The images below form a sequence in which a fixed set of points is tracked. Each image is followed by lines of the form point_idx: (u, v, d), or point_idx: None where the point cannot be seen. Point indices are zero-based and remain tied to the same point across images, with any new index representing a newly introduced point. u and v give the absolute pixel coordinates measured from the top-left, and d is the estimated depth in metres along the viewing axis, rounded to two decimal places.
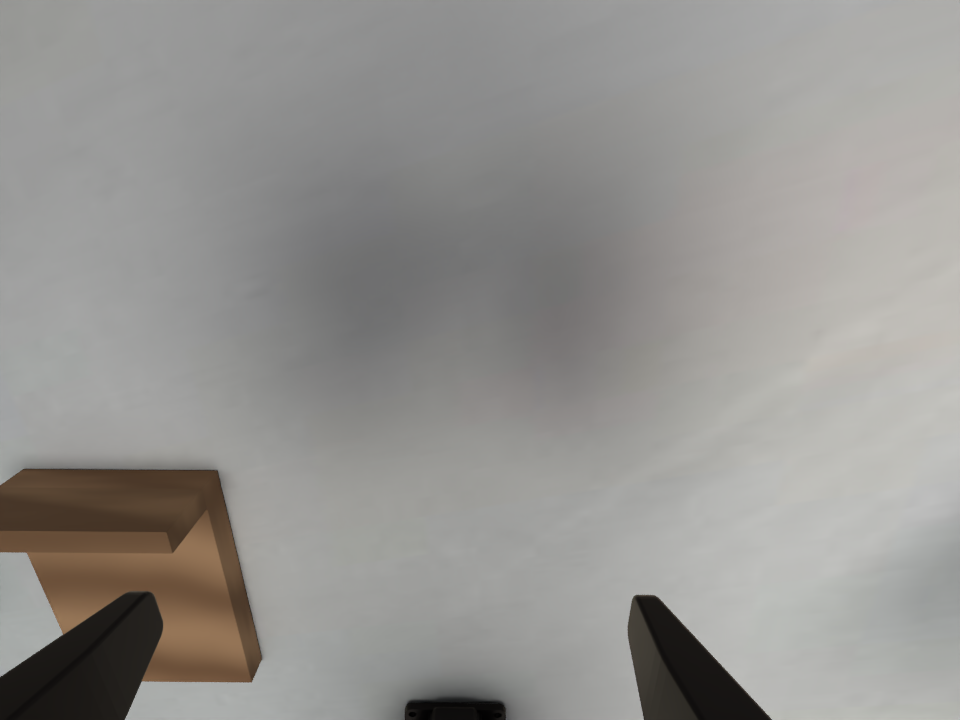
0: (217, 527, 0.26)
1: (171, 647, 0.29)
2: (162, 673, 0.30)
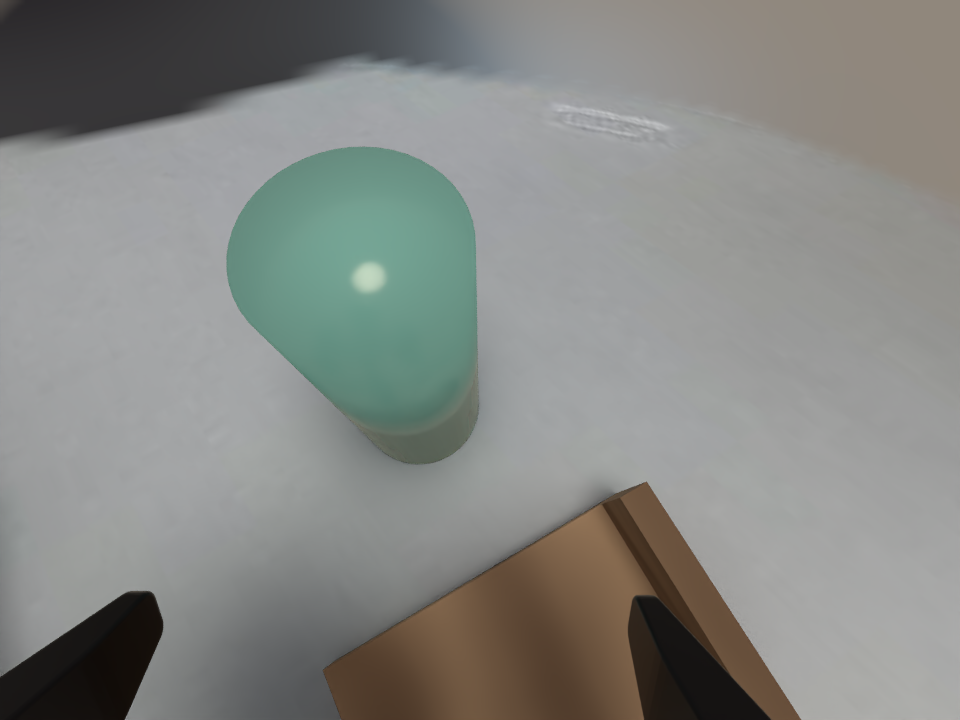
0: None
1: None
2: None
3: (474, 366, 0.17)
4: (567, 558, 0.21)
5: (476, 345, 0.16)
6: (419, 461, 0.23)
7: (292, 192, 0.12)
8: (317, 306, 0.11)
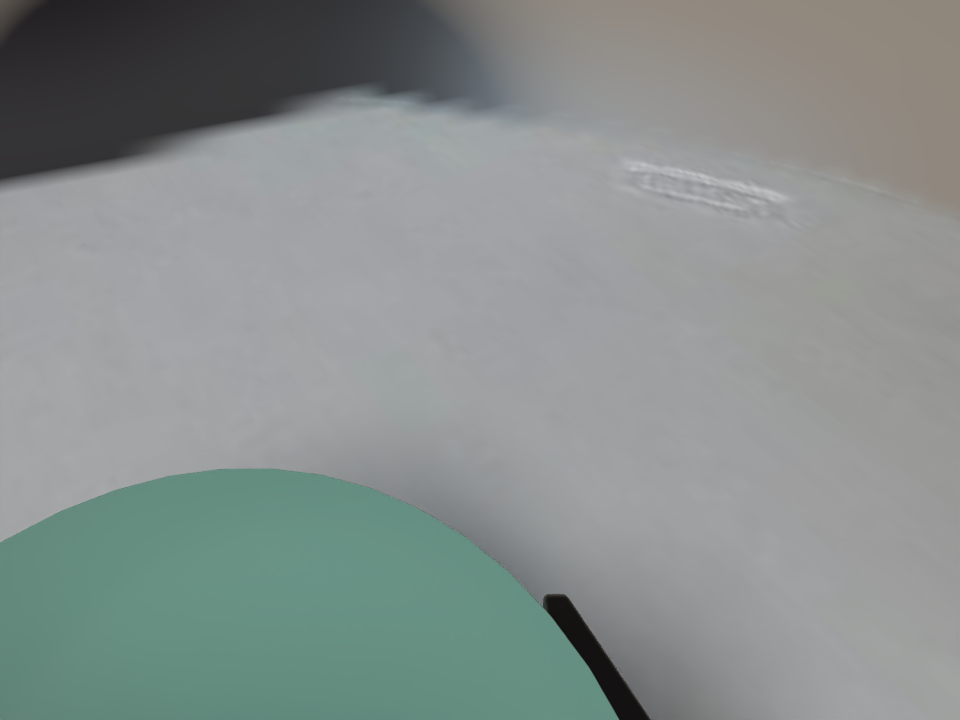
0: None
1: None
2: None
3: None
4: None
5: None
6: None
7: None
8: None
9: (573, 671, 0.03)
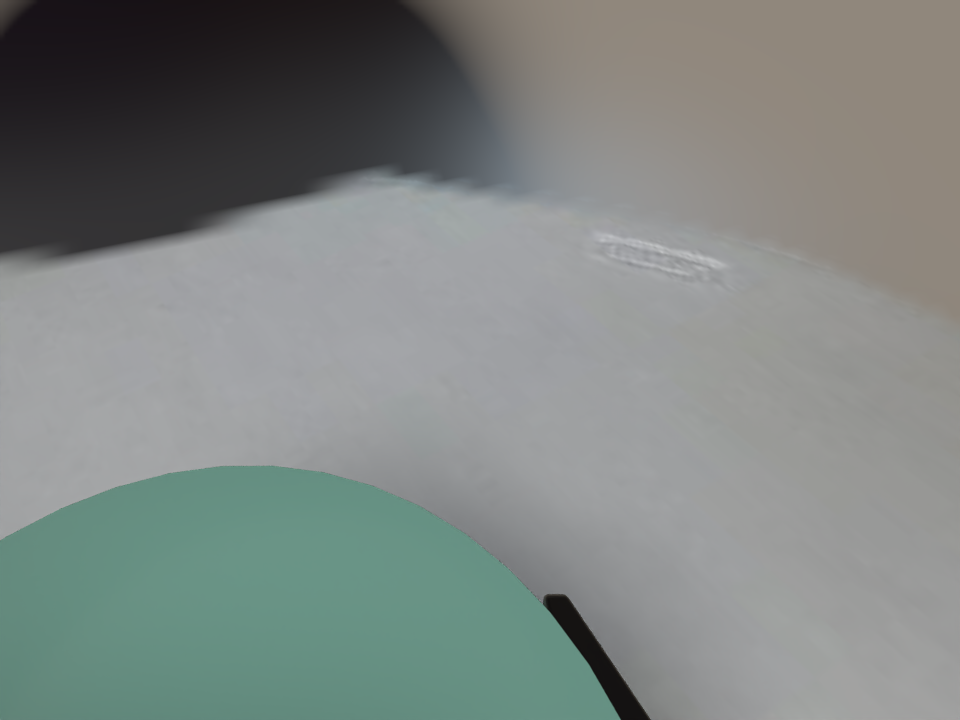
0: None
1: None
2: None
3: None
4: None
5: None
6: None
7: None
8: None
9: (572, 667, 0.03)
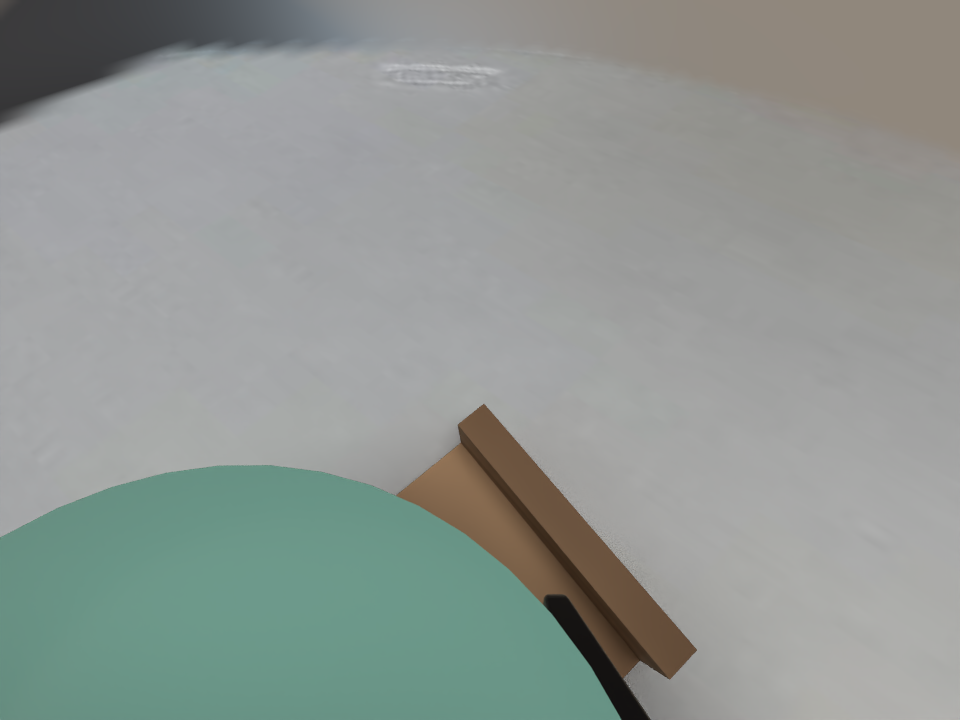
0: None
1: None
2: None
3: None
4: (430, 504, 0.20)
5: None
6: None
7: None
8: None
9: (574, 669, 0.03)
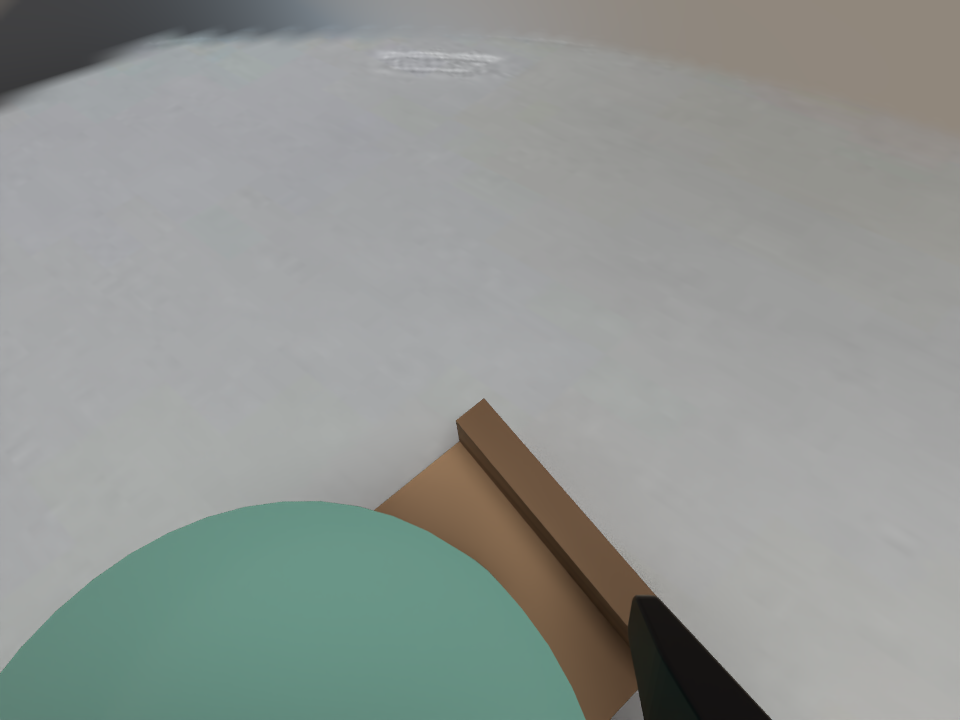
0: (615, 706, 0.16)
1: None
2: None
3: None
4: (426, 506, 0.18)
5: None
6: None
7: (114, 657, 0.04)
8: None
9: (537, 647, 0.04)
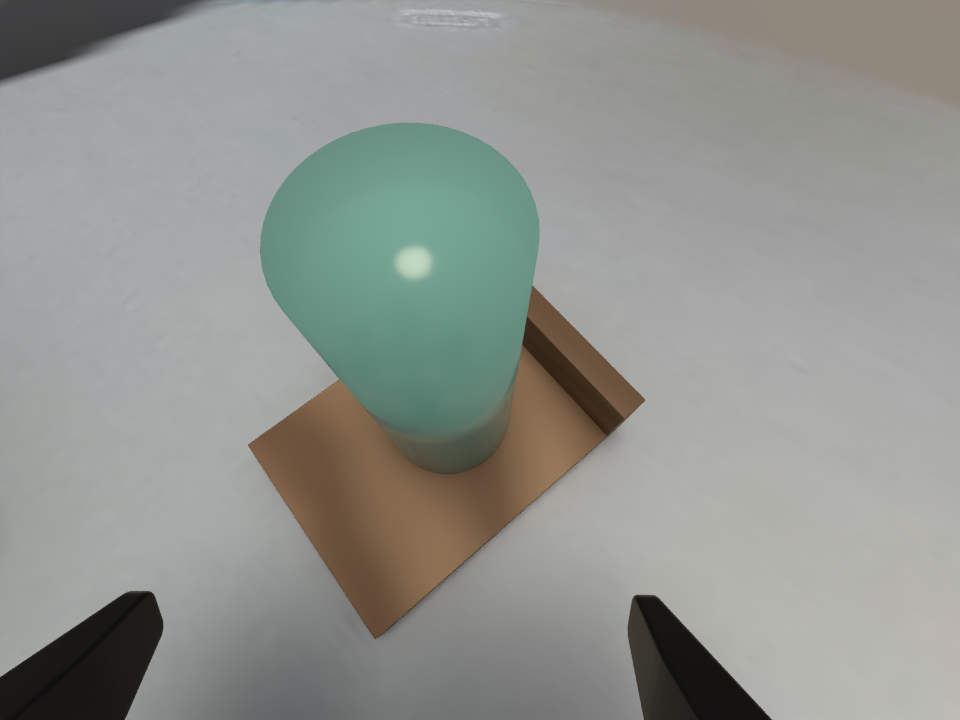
0: (580, 459, 0.23)
1: (376, 506, 0.22)
2: (320, 521, 0.21)
3: (516, 372, 0.16)
4: None
5: None
6: (446, 471, 0.21)
7: (335, 169, 0.11)
8: (360, 296, 0.10)
9: (509, 166, 0.11)
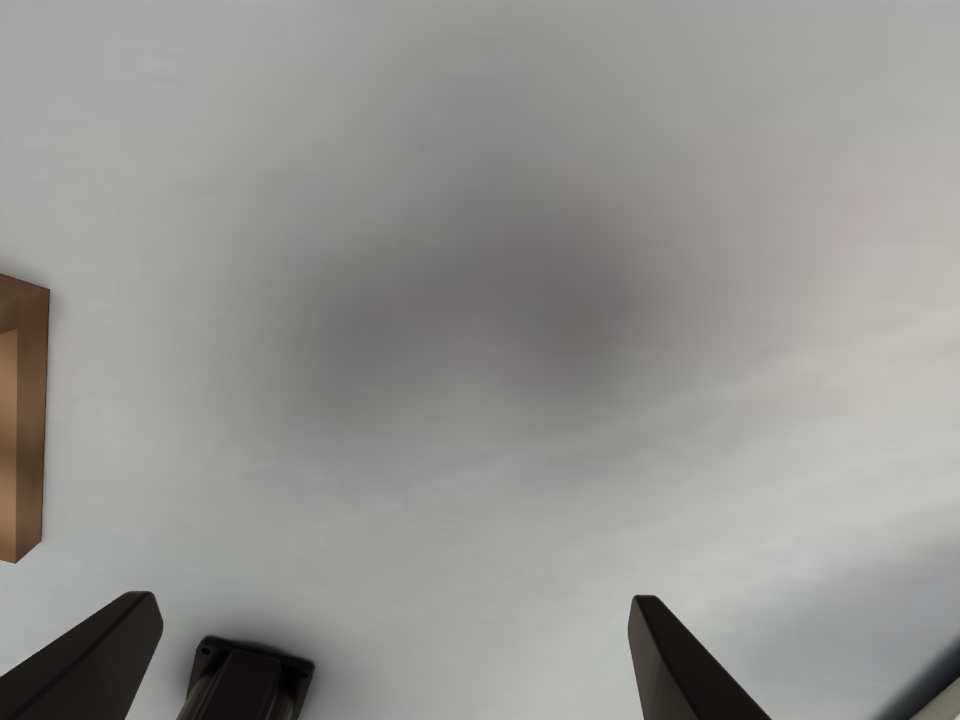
0: (26, 357, 0.21)
1: None
2: None
3: None
4: None
5: None
6: None
7: None
8: None
9: None
